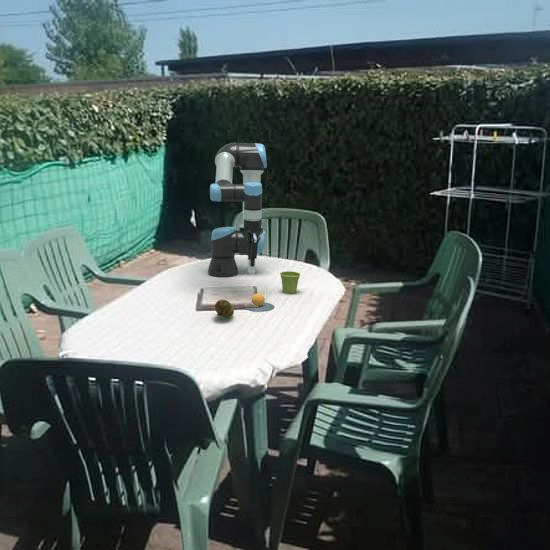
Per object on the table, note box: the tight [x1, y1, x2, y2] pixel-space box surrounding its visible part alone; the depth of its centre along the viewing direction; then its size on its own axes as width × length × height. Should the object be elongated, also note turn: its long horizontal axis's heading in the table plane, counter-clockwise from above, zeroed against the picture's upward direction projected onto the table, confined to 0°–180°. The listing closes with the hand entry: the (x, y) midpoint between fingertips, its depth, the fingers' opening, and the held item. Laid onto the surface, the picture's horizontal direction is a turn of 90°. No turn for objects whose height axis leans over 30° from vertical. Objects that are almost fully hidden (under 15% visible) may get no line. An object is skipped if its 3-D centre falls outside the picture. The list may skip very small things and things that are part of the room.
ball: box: [251, 293, 266, 306], centre depth 244 cm, size 6×6×6 cm
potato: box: [214, 299, 235, 319], centre depth 228 cm, size 8×13×8 cm, turn 158°
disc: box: [243, 301, 275, 313], centre depth 244 cm, size 13×13×1 cm
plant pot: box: [279, 270, 301, 295], centre depth 266 cm, size 9×9×9 cm
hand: (251, 272), depth 255 cm, fingers closed
